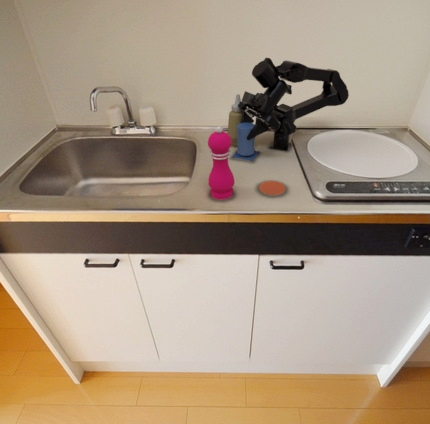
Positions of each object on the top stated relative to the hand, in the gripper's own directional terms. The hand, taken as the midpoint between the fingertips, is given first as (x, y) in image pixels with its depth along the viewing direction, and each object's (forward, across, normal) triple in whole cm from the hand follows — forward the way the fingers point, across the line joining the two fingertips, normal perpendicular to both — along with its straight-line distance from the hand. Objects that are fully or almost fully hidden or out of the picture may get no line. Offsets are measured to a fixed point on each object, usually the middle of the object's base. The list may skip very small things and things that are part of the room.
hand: (242, 136), depth 96 cm
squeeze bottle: (+2, -11, +8) cm, 14 cm away
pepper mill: (+18, +18, -7) cm, 26 cm away
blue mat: (+4, 0, +6) cm, 8 cm away
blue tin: (+3, 0, +5) cm, 6 cm away
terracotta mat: (+8, +23, +3) cm, 24 cm away
